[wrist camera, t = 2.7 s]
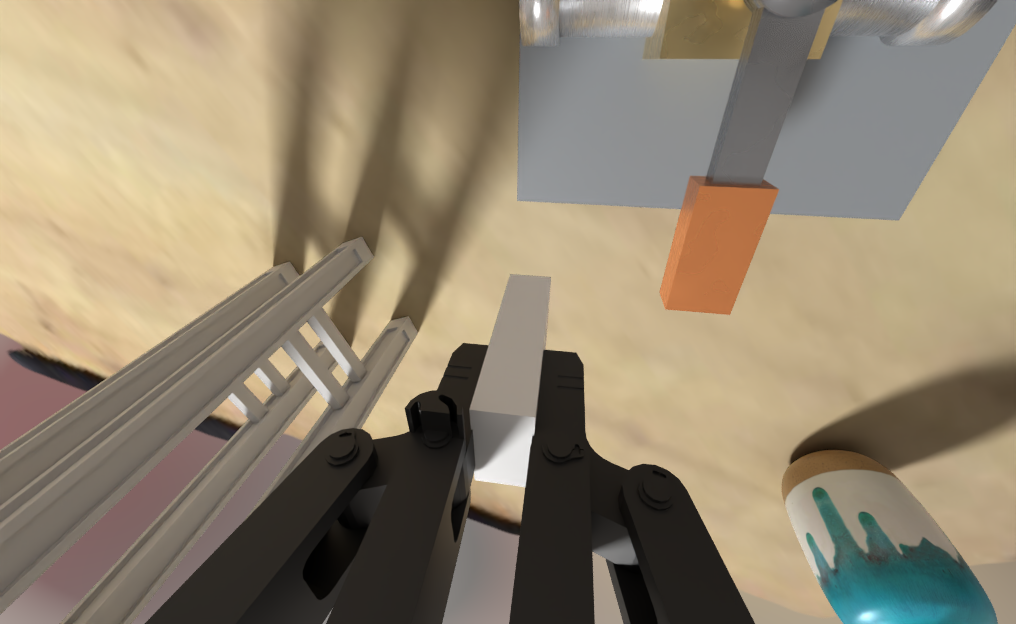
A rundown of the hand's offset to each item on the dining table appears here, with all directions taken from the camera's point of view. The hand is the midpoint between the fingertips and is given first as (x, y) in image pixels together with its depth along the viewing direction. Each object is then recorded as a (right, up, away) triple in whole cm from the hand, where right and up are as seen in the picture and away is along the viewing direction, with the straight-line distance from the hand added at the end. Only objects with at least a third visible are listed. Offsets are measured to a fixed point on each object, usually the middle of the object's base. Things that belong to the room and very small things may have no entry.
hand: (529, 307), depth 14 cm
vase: (+34, -17, +27) cm, 47 cm away
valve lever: (+9, +7, +2) cm, 12 cm away
